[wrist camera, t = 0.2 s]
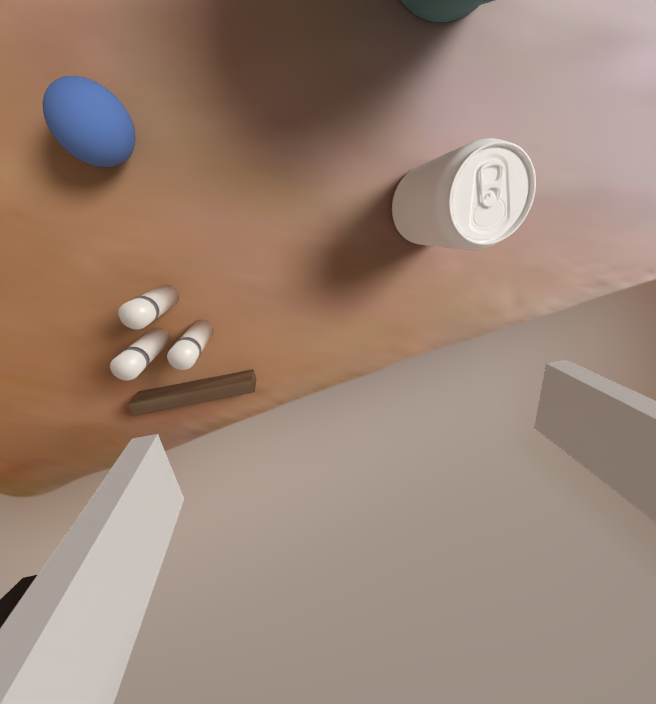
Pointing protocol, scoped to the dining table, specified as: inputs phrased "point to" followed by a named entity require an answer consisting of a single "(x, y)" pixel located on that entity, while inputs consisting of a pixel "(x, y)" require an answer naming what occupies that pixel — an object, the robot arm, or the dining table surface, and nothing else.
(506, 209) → the beverage can
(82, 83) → the ball
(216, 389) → the wall
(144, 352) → the pin
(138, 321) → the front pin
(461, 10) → the flower pot
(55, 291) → the dining table surface
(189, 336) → the pin
